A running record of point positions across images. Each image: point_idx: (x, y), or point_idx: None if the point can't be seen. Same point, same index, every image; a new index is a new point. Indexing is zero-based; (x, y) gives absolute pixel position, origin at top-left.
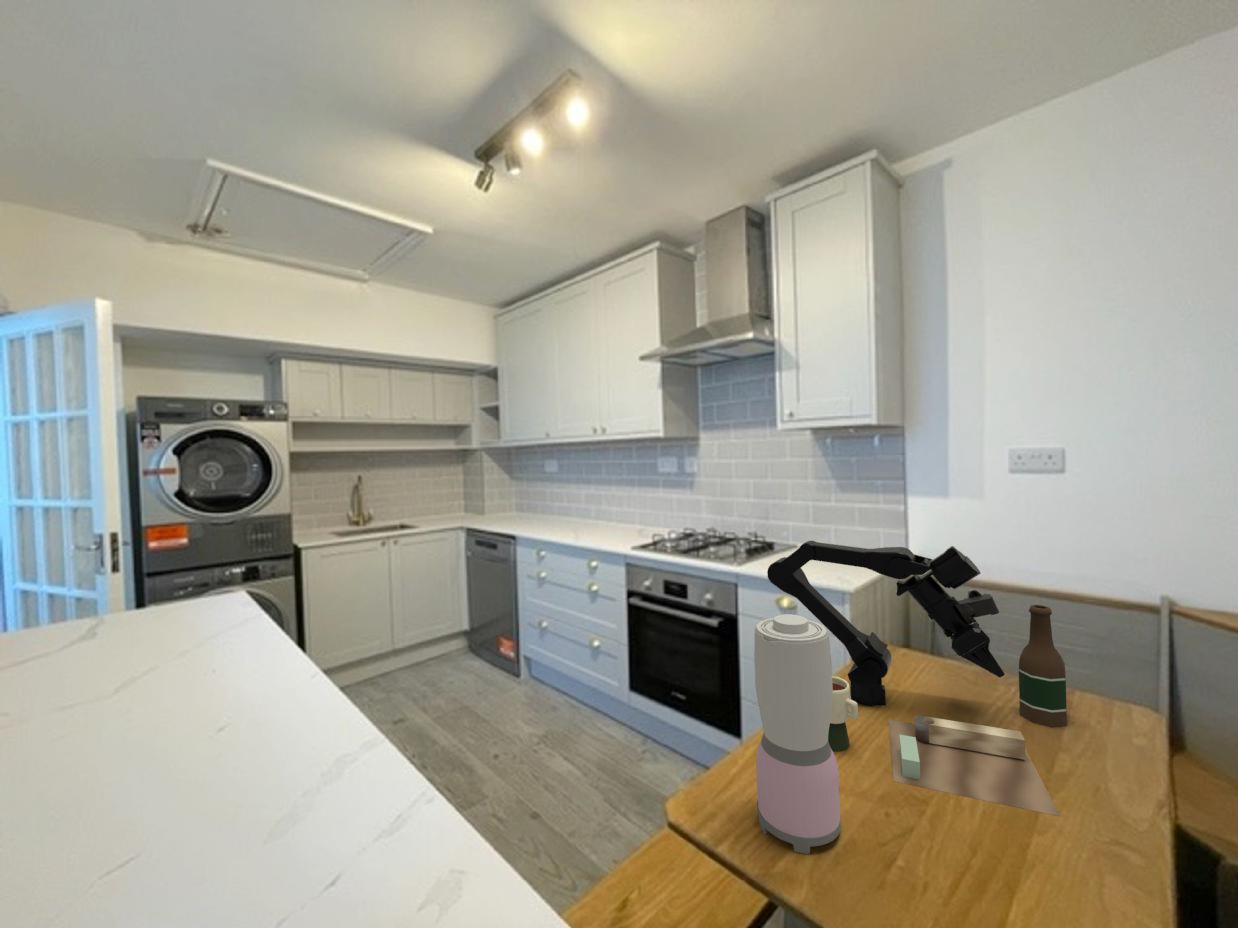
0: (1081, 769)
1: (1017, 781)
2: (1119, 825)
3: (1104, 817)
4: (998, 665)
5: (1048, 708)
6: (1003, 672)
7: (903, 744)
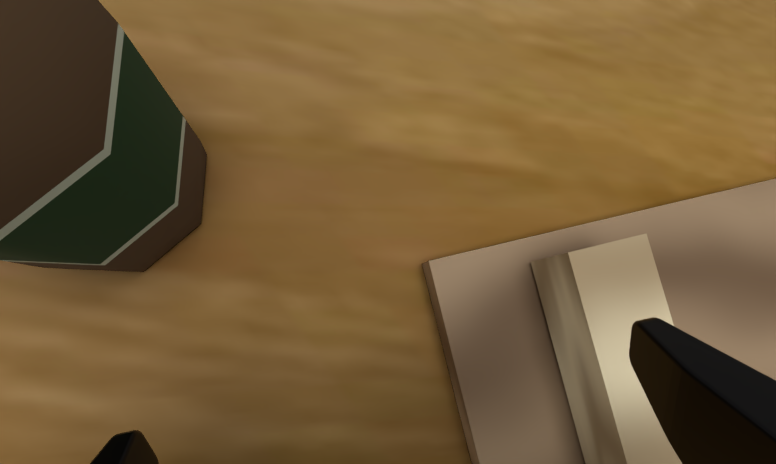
0: (453, 84)
1: (754, 269)
2: (728, 28)
3: (714, 57)
4: (766, 377)
5: (181, 128)
6: (672, 327)
7: None
